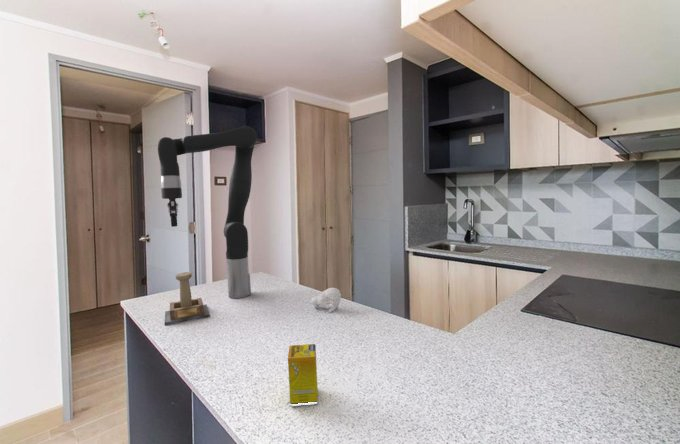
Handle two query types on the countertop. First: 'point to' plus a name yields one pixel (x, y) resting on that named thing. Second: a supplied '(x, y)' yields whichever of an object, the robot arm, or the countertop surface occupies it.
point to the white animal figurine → (327, 299)
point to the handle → (185, 289)
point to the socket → (186, 312)
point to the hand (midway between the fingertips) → (174, 225)
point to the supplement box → (302, 373)
